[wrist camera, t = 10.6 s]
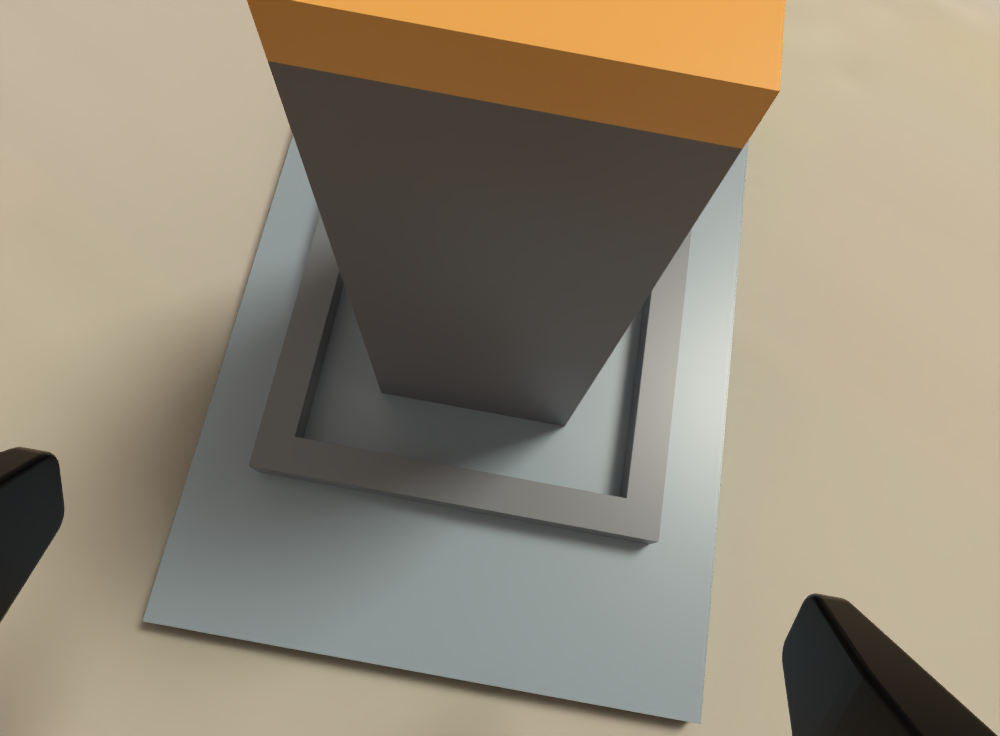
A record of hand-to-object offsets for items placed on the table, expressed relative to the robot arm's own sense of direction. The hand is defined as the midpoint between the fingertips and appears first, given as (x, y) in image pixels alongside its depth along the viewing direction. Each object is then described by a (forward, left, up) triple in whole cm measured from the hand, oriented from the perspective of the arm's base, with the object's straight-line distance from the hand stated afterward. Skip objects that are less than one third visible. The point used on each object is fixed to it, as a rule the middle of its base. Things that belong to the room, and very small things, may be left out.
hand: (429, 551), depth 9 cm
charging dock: (+2, +6, -8) cm, 10 cm away
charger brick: (+2, +6, -8) cm, 10 cm away
